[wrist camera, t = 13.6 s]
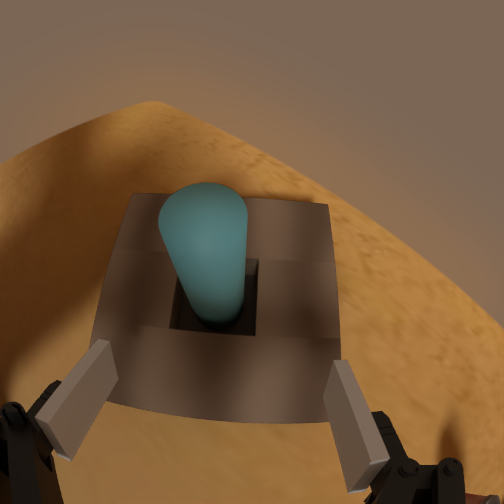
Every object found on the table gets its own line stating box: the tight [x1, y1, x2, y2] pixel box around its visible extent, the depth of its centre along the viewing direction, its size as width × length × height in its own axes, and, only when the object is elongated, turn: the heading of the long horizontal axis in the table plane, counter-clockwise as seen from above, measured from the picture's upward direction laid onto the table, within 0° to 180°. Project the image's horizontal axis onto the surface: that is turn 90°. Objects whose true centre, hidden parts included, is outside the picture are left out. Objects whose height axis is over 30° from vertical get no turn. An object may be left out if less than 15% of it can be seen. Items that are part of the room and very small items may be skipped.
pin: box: [158, 183, 248, 331], centre depth 18 cm, size 4×4×12 cm
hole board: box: [89, 193, 341, 424], centre depth 22 cm, size 18×18×4 cm
